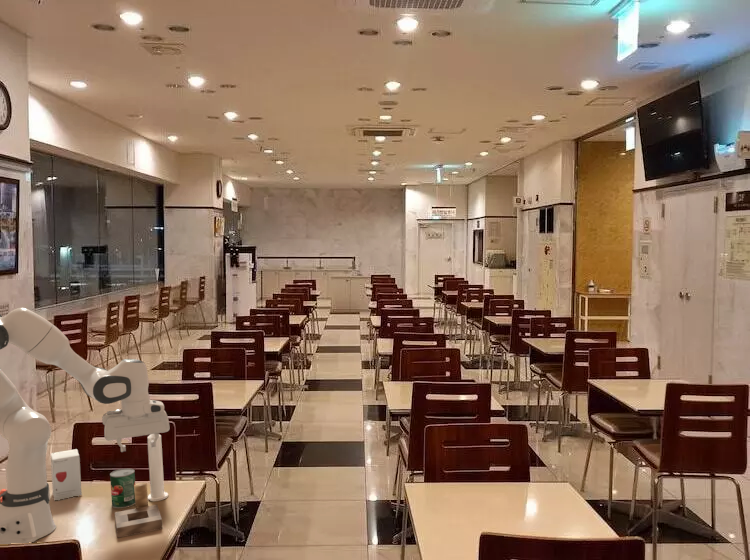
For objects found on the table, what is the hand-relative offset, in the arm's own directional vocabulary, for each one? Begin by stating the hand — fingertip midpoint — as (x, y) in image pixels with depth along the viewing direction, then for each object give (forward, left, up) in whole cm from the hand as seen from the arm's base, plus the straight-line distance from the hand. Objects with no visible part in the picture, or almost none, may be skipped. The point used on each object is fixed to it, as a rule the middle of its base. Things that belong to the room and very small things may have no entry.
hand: (138, 448), depth 218 cm
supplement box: (-23, +29, -21) cm, 43 cm away
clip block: (-2, -11, -21) cm, 24 cm away
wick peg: (0, 0, -21) cm, 21 cm away
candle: (+6, +10, -21) cm, 24 cm away
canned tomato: (-5, +10, -21) cm, 24 cm away
